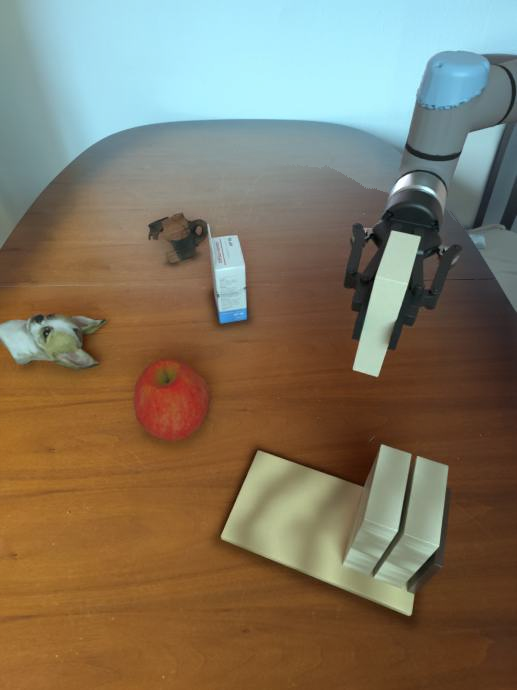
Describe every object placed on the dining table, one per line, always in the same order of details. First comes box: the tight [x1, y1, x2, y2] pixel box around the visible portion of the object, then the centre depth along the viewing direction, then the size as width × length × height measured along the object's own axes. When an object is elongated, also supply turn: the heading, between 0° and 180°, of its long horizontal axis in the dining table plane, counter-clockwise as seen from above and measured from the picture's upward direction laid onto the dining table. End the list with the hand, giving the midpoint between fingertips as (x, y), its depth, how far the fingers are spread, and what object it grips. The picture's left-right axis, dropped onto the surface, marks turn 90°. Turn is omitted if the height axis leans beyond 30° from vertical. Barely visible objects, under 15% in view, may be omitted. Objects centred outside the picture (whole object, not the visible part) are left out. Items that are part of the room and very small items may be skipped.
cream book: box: [352, 231, 421, 378], centre depth 49 cm, size 3×8×14 cm, turn 158°
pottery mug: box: [147, 212, 208, 264], centre depth 89 cm, size 12×10×8 cm
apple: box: [133, 358, 211, 442], centre depth 61 cm, size 10×10×10 cm
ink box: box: [207, 223, 248, 324], centre depth 74 cm, size 9×5×15 cm, turn 10°
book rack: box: [220, 443, 452, 617], centre depth 49 cm, size 22×12×15 cm, turn 69°
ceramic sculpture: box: [0, 313, 108, 371], centre depth 69 cm, size 11×9×15 cm
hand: (375, 335), depth 45 cm, fingers closed on cream book, 3 cm apart
